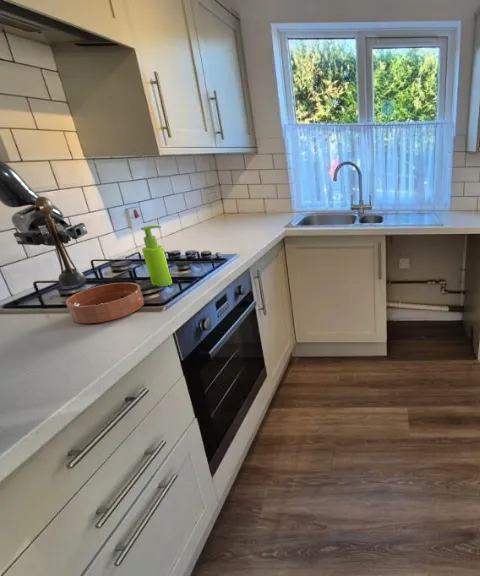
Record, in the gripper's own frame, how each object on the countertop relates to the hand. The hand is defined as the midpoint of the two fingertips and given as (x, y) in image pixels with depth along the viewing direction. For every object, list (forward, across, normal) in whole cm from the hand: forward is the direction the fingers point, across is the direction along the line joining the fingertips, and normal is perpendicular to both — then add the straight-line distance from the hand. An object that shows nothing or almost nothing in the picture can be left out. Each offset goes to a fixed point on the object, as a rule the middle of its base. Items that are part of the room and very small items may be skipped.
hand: (59, 240), depth 79 cm
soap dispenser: (-29, +24, +26) cm, 46 cm away
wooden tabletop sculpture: (-3, 0, +11) cm, 12 cm away
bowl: (-18, +7, +26) cm, 32 cm away
